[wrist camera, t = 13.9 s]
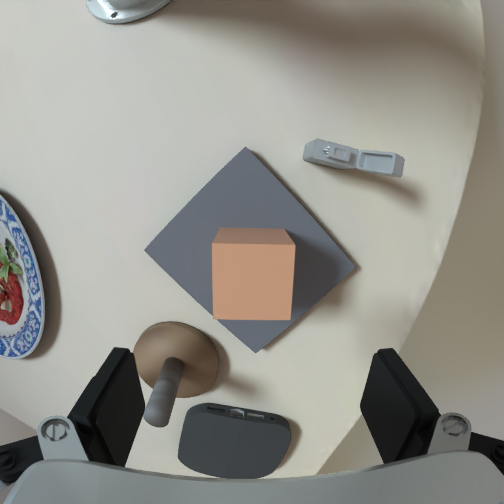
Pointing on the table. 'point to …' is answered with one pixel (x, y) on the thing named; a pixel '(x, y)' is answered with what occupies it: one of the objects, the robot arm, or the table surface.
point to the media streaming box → (232, 441)
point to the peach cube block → (252, 274)
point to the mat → (248, 216)
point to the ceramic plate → (18, 289)
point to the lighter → (353, 158)
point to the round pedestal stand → (174, 366)
